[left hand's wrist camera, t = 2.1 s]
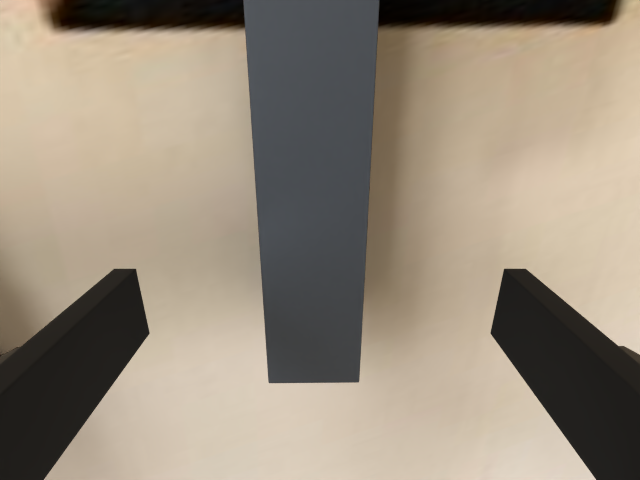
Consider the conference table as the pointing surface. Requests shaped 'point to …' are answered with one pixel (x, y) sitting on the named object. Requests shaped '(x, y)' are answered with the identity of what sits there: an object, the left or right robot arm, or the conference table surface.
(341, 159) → the beam
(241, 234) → the conference table surface
